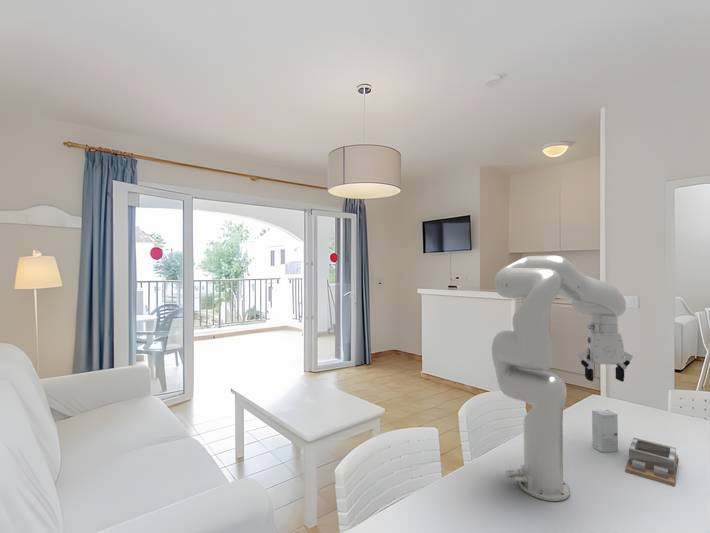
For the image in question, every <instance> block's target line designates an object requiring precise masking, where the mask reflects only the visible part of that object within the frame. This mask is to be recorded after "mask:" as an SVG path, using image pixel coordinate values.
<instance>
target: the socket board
mask: <svg viewBox="0 0 710 533" xmlns="http://www.w3.org/2000/svg"><path fill="white" fill-rule="evenodd" d="M678 464H679V455H677V447H674V446H669V445H667V444H666V445H665V444H662V443H658V442H653V441H649V440H645V439H640V438H637V437H633V438H632V441H631V443H630V445H629V448H628V461H627V463H626V466H625V467H624V468H625V470H624V471H625V473H628V474H631V475H634V476H639V477H640V478H645V479H648V480H652V481H655V482H659V483H661V484H665V485H669V486H672V487H676V486H675V485H676V480H677V479H676V478H677V471H678Z"/></svg>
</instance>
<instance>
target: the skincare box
mask: <svg viewBox="0 0 710 533" xmlns="http://www.w3.org/2000/svg"><path fill="white" fill-rule="evenodd" d="M591 415H592V416H591V425H592V426H591V428H592V429H591V432H592V433H591V434H592V439H591V440H592V441H591V442H592V443H591V444H592V447H593V448H594V449H595V450H597V451H598V452H600V453H612V452H615V453H616V452H618V451H619V449H618V448H619V446H618V445H619V441H618V440H619V434H618V433H619V432H618V428H619V426H618V424H619V423H618V422H619V421H618V413H615V412H614V411H611V410H609V409H597V410H595V409H594V410H592V411H591Z"/></svg>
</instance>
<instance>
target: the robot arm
mask: <svg viewBox="0 0 710 533" xmlns="http://www.w3.org/2000/svg"><path fill="white" fill-rule="evenodd" d="M493 281H494V283H493V284H494V289H495V291H496V292H497V294H498V295H499V296H501V297H503V298H507V299H516V300H517V299H518V300H519V299H520V300H523V301H522V302H521V303H520V304H519V306H518V307H517V308H516V309H515V312H514V313H513V315H512V327H513V330H503V331H499V332H498V333H496V335H494V337H493V340H492V344H491V356H492V361H493V366H494V370H495V374H496V379H497V384H498V387H499V390H500V391H501V392H502V394H503V395H504V396H506V397H508V398H510V399H513V400H517V401H520V402H523V403H526V404H529V405H531V408H530V409H529V411H528V412H527V413H526V414H525V416H524V418H523V464H520V468H518V469H517V470H514V469H506V470H505V475H506V478H508V479H513V480H514V482H515V483H518V486H519V488H521V489H522V490H523V492H525V493H527V494H528V495H530V496H532V497H534V498H537V499H540V500H544V501H549V502H560V501H565V500H566V499H568V498H569V497H570V494H571V489H570V486H569V485H568V484H567V482H566V481H564V447H563V446H564V444H563V443H564V440H563V438H564V435H563V430H564V429H563V427H564V426H563V424H564V409H565V403H566V399H567V385H566V382H565V381H564V380H563V379H562V378H561V377H560V375H557V374H555V373H552V372H550V371H548V370H550V369H551V368H552V367H553V365H554V350H553V345H552V344H553V343H552V338H551V334H550V328H549V321H548V320H549V314H550V311H551V310H552V307H553V304H554V302H555V300H556V299H557V297H558V294H559V295H561V296H562V297H563V298H565V299H568V300H571V306H572V309H573V310H574V311H575V312H576V313H578V314H581V315H588V316H590V322H589V324H587V325H586V328H587V330H590V331H588V335H587V338H586V347H585V350H583V351H581V352H579V353H577V354H576V358H577V360H578V361H579V363H580V364H581V366H583V367H584V377H585V379H586V380H588V381H590V382H594V369H593V367H594V366H595V365H616V367H615V379H616V380H617V381H620V382H624V381H625V370H626V369H627V367H628V366H629V365H630V364H631V361H632V359H633V358H634V357H633V355H632V354H630V353H628V352H626V351H625V349H624V348H625V347H624V340H623V337H622V334H621V333H620V332H619V327H618V326H619V323H618V322H619V317H620V316H622V315H623V314H624V313H625V311H626V307H627V303H626V299H625V297H624V295H623V293H622V292H620V290H619V289H618V288H617V287H615V286H614V285H613V284H610V283H608V282H606V281H603V280H599V279H597V278H594V277H591V276H588V275H585V274H583V273H582V272H581V271H580V270H579V269H577V267H575V265H574V264H572V263H571V262H570V260H568V259H567V258H565V257H563V256H562V255H561V256H560V255H556V254H551V255H550V254H549V255H530V256H529V255H528V256H524V257H522V258H520V259H518V260H516V261H514V262H511V263H510V264H508V265H506V266H504V267H503V268H501V269H500V270H499V271H498V272H497V273H496V274H495V278H494V280H493ZM585 357H586V358H585ZM584 358H585V359H586V360H585V359H584Z"/></svg>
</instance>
